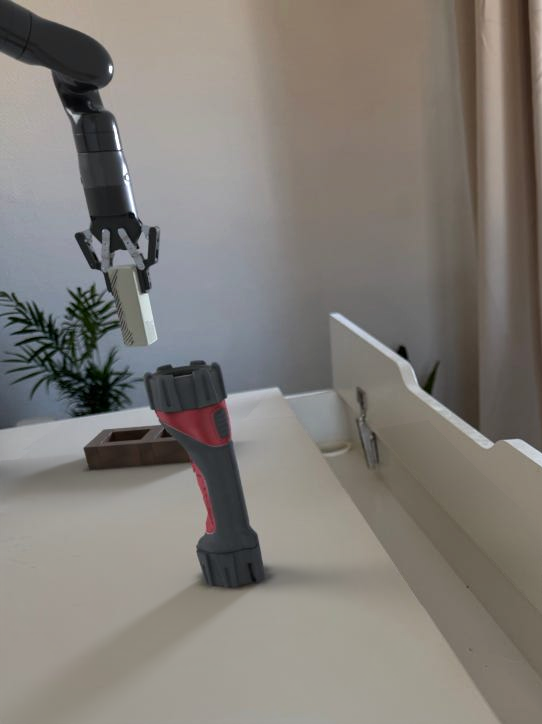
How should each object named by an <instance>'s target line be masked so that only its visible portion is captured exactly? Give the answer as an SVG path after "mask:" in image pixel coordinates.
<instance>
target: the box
mask: <svg viewBox="0 0 542 724" xmlns="http://www.w3.org/2000/svg"><path fill="white" fill-rule="evenodd" d="M107 270H108V274H109V278H110V282H111V287H112V291H113V296H112V297H113V300H114V305H115V309H116V313H117V319H118V322H119V328H120V331H121V336H122V341H123V345H124V347H126V348H131V347H133V348H134V347H148V346H150V345H152V344H153V343H155V342H156V341H158V335H157V331H156V330H157V329H156V325H155V321H154V316H153V311H152V307H151V301H150V297H149V296H150V295H149V293H147V294H143V293H142V290H141V285H140V281H139V276H138V271H139V269H138V267H137V265H136V263H125V264H117V265H115V266H114V265H113V267H112V268H109V269H107Z"/></svg>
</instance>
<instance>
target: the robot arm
mask: <svg viewBox="0 0 542 724" xmlns="http://www.w3.org/2000/svg"><path fill="white" fill-rule="evenodd" d="M0 53H1V54H3V55H5V56H7V57H9V58H12V59H13V60H16V61H18V62H20V63H22V64H25V65H29V66H34V67H35V66H37V67H42V68H45V69H48V70H50V72H51V77H52V81H53V85H54V87H55V90H56V93H57V95H58V97H59V100H60V102H61V105H62V108H63V110H64V112H65V114H66V117H67V118H68V120H69V123H70V126H71V132H72V133H71V134H72V138H73V142H74V145H75V150H76V151H75V152H76V155H77V162H78V171H79V176H80V179H79V180H80V183H81V185H82V189H83V193H84V198H85V203H86V207H87V211H88V216H89V221H90V223H89V228H88V229H85V230H83V231H77V232H75V234H74V239H75V240H76V243H77V245H78V247H79V249H80V250H81V252H82V254H83V256H84V258H85V261H86V262H87V264H88V266H89V268H90V269H91V270H95V271H100V272H102V274H103V279H104V283H105V286H106V291H107V292H108V293H111V296H112V297H114V296H113V291H112V287H111V282H110V278H109V274H108V270H107V269H109V268H112V267H114V258H115V255H116V252H117V251H119V250H121V251H127V252H128V254H129V255H130V257H131V258H132V260H133V261H134V264H136V265H137V267H138V269H139V271H138V276H139V281H140V285H141V290H142V293H143V294H147V293H148V294H149V293H150V290H152V288H153V284H152V278H151V274H150V267H152V266H154V265H156V264H158V262H159V256H160V242H161V241H160V240H161V239H160V238H161V228H160V227H159V226H158V225H154V226H151V225H147V224H144V223H143V222H142V220H141V219H140V217H139V214H138V209H137V203H136V198H135V194H134V188H133V183H132V180H131V174H130V169H129V166H128V162H127V159H126V156H125V154H124V148H123V144H122V139H121V134H120V128H119V125H118V122H117V119H116V116H115V114H114V113H113V112H111V110H108V109H106V108H105V106H104V102H103V100H102V97H101V94H100V90H102V89H104V88H106V87H107V86H108V85H109V84H110V83H111V82H112V80H113V77H114V75H115V65H114V61H113V58H112V56H111V54H110V52H109V51H108V50H107V49H106V47H105V46H104V45H103V44H102V43H100V42H99V41H98V40H96V39H95V38H94V37H92V36H91V35H89V34H87V33H85V32H82V31H80V30H77V29H75V28H72V27H70V26H67V25H64V24H62V23H59V22H56V21H53V20H51V19H47V18H45V17H42V16H40V15H38V14H37V13H35V12H33V11H31V10H30V9H28V8H26V7H24V6H22V5H21V4H19V3H17V2H15V1H13V0H0ZM142 232H143V234H144V237H145V239H147V240H148V241H147V242H148V243H147V257H145V255H144V251H143V249H142V247H141V245H140V243H139V240H140V237H141V234H142ZM93 237H94V238H95V239H96V240H97V241H98V242H99V243H100V244H101V250H100V251H101V252H100V257H101V260H100V259H99V255H98V254H97V253H96V250H95V248H94V246H93V240H94V239H93Z"/></svg>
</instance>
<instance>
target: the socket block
mask: <svg viewBox="0 0 542 724" xmlns="http://www.w3.org/2000/svg"><path fill="white" fill-rule="evenodd" d="M82 448H83V452H84V456H85V459H86V463H87V467H88V471H96V470H108V469H109V470H110V469H122V468H132V467H145V466H158V465H159V466H160V465H169V464H170V465H171V464H182V463H191V462H192V460H191V462H190V457H189V455H188V453H187V451H186V450H185V448H184V447H183V446H182V445H181V444H180V443H179V442H178V441H177V440H176V439H175V438H174V437H173V436H172V435H170V434H169V433H168V432H167V431H166V430H165V429H164V427H163V426H162V425H161V424H155V425H143V426H128V427H118V428H117V427H116V428H107V429H106V428H105V429H102V430H101V431H100V432H99V433H97V435H96V436H95V437H93V438H92V439H91V440H90V441H89V442H88V443H87V444H86V445H85V446H83V447H82ZM192 463H193V462H192Z"/></svg>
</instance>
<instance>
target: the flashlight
mask: <svg viewBox="0 0 542 724" xmlns="http://www.w3.org/2000/svg"><path fill="white" fill-rule="evenodd" d="M142 378H143V385H144V388H145V392H146V393H145V394H146V397H147V400H148V405H149V409H150V410H151V411H154V413H155V416H156V417H157V419H158V422H159V423H160V424H159V425H162V426H163V427H164V429H165V430H166V431H167V432H168V433H169V434H170V435H172V436H173V437H174V438H175V439H176V440H177V441H178V442H179V443H180V444H181V445H182V446H183V447H184V448H185V450H186V451H187V453H188V455H189V457H190V462H189V463H190V465H191V468H192V471H193V473H194V474H195V477H196V482H197V485H198V487H199V489H200V492H201V495H202V500H203V503H204V506H205V508H206V509H205V510H206V512H207V515H206V518H205V519H206V520H205V532H204V534H203V535H202V536H201V537H200V538H199V539H198V542H197V544H196V545H195V547H196V550H195V553H196V556H197V559H198V562H199V565H200V569H201V573H202V575H203V580H204V582H205V584H206V585H209V586H210V587H213V586H214V587H215V586H218V587H224V588H225V589H237V588H239V587H241V586H245V585H249V584H260V583H262V582H264V581H265V580H266V579H267V576H266V570H265V566H264V561H263V556H262V549H261V545H260V539H259V535H258V533H257V531H256V530H254V529H253V527H252V526H251V524H250V517H249V512H248V507H247V502H246V498H245V494H244V489H243V483H242V479H241V473H240V469H239V464H238V460H237V456H236V451H235V446H234V441H233V439H232V435H233V434H232V425H231V420H230V415H229V409H228V407H227V403H226V399H228V396H229V395H228V392H227V388H226V384H225V383H226V382H225V379H224V373H223V370H222V367H221V364H220V363H219V362H217V361H213V362H211V363H210V364H207V362H206V361H205V360H202V359H200V360H199V359H197V360H190V361H189V365H181V366H175V367H173V365H172V364H171V363H170V364H169V363H168V364H164V365H161V366H158V367H157V368H156V370H155V372H154V373H152V372H151V371H147V372H145V373H144V374H143V377H142ZM191 460H192V462H191Z"/></svg>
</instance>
